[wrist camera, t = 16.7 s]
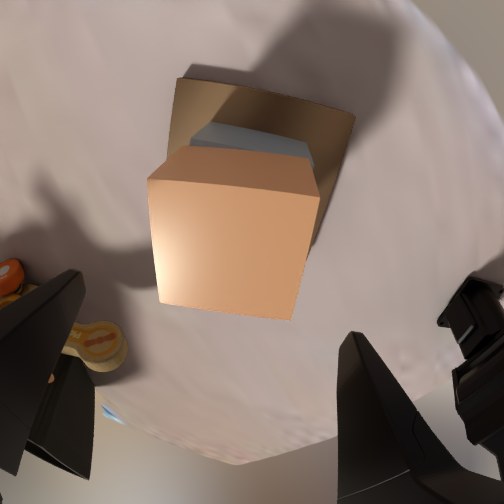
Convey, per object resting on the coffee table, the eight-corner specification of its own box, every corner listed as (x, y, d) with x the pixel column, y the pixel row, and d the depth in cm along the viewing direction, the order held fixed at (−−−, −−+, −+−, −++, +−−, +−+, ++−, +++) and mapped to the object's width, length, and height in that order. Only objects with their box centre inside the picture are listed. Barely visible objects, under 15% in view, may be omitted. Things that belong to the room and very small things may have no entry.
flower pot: (88, 337, 33) (37, 448, 20) (117, 401, 44) (90, 483, 30) (-4, 302, 33) (-56, 382, 19) (36, 370, 44) (4, 437, 30)
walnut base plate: (352, 114, 17) (355, 116, 16) (305, 252, 23) (306, 260, 22) (182, 77, 16) (176, 78, 16) (166, 222, 23) (161, 229, 22)
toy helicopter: (-1, 255, 27) (-64, 332, 16) (136, 271, 26) (69, 402, 15) (23, 304, 32) (-26, 379, 21) (153, 331, 31) (112, 445, 19)
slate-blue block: (306, 142, 17) (314, 165, 14) (282, 224, 21) (282, 264, 17) (210, 121, 17) (190, 138, 13) (197, 206, 21) (179, 241, 17)
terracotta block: (308, 158, 14) (320, 197, 10) (289, 261, 17) (290, 320, 13) (183, 145, 14) (146, 178, 10) (184, 247, 17) (159, 302, 13)
